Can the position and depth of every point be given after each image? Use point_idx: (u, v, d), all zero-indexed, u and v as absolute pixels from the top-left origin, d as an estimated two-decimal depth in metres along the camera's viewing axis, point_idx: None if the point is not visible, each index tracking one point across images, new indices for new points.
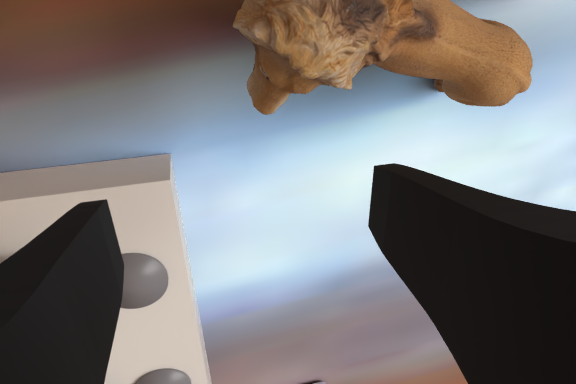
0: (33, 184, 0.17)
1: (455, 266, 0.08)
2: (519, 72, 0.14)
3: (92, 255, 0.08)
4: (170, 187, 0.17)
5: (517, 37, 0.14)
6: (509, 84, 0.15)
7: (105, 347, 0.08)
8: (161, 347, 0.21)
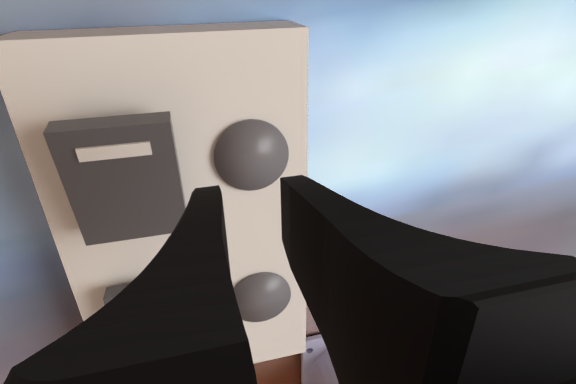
0: (155, 30, 0.15)
1: (333, 289, 0.08)
2: None
3: (224, 235, 0.09)
4: (307, 37, 0.15)
5: None
6: None
7: None
8: (266, 245, 0.19)
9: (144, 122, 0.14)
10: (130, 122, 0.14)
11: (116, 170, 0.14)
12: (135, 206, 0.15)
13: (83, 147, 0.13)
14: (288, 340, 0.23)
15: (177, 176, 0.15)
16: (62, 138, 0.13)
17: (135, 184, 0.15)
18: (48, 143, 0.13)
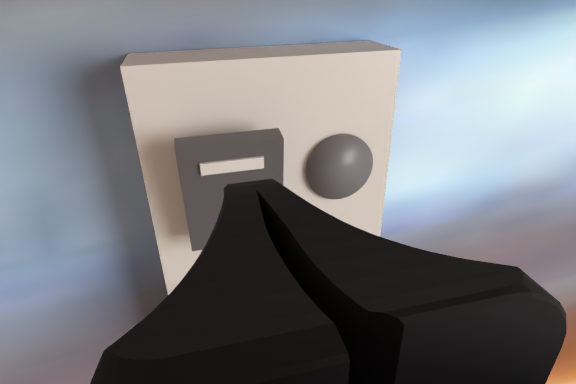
0: (260, 52, 0.16)
1: None
2: None
3: None
4: (399, 58, 0.17)
5: None
6: None
7: None
8: None
9: (260, 138, 0.15)
10: (248, 139, 0.15)
11: (230, 182, 0.15)
12: None
13: (206, 162, 0.15)
14: None
15: None
16: (190, 154, 0.14)
17: None
18: (177, 159, 0.14)
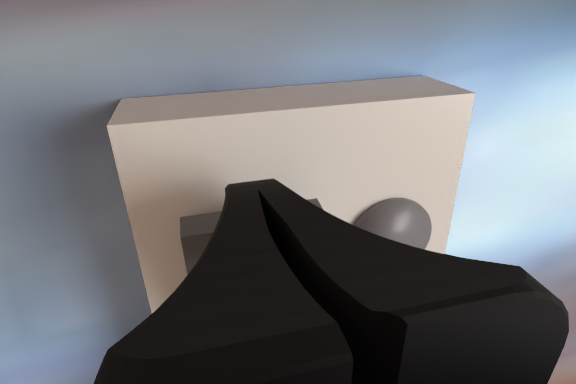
0: (292, 98, 0.13)
1: None
2: None
3: None
4: (471, 104, 0.13)
5: None
6: None
7: None
8: None
9: None
10: None
11: None
12: None
13: None
14: None
15: None
16: (201, 240, 0.11)
17: None
18: (184, 248, 0.11)
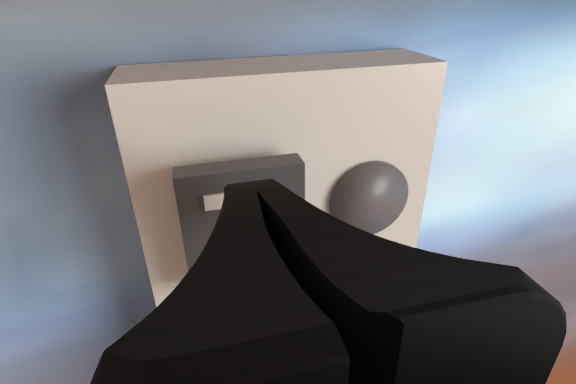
0: (278, 65, 0.13)
1: None
2: None
3: None
4: (444, 72, 0.14)
5: None
6: None
7: None
8: None
9: (276, 164, 0.12)
10: (262, 165, 0.12)
11: None
12: None
13: (211, 194, 0.12)
14: None
15: None
16: (191, 183, 0.12)
17: None
18: (176, 190, 0.12)
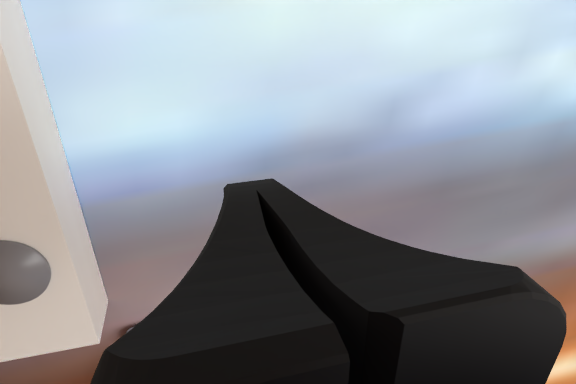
0: None
1: None
2: None
3: None
4: None
5: None
6: None
7: None
8: None
9: None
10: None
11: None
12: None
13: None
14: (69, 328, 0.19)
15: None
16: None
17: None
18: None
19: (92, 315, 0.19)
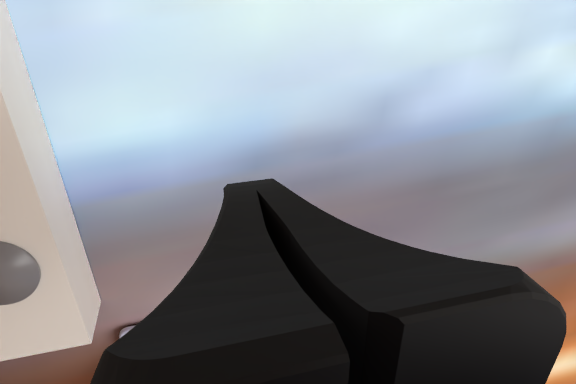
0: None
1: None
2: None
3: None
4: None
5: None
6: None
7: None
8: None
9: None
10: None
11: None
12: None
13: None
14: (60, 329, 0.19)
15: None
16: None
17: None
18: None
19: (83, 315, 0.19)
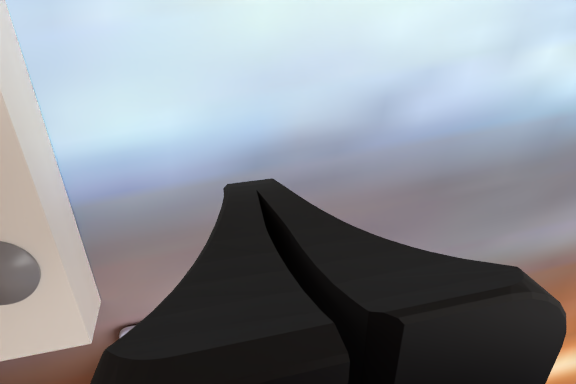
0: None
1: None
2: None
3: None
4: None
5: None
6: None
7: None
8: None
9: None
10: None
11: None
12: None
13: None
14: (60, 329, 0.19)
15: None
16: None
17: None
18: None
19: (83, 315, 0.19)
